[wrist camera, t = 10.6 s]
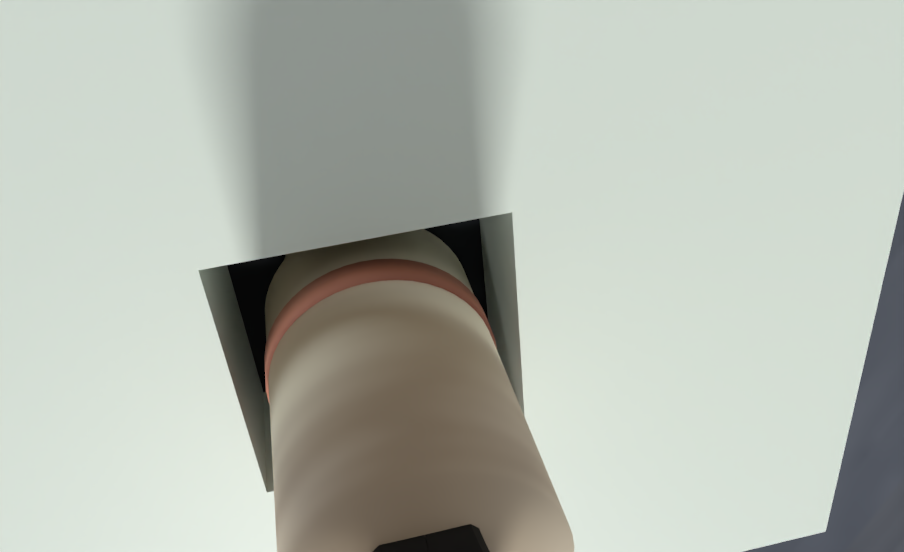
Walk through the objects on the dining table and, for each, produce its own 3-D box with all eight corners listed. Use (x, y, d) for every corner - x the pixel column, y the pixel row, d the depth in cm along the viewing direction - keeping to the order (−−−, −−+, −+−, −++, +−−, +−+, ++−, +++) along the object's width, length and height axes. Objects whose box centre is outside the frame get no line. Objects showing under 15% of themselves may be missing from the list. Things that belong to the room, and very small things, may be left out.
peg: (284, 363, 19) (310, 705, 12) (238, 202, 17) (240, 517, 10) (464, 324, 19) (581, 633, 13) (443, 162, 17) (572, 438, 11)
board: (10, 616, 21) (-20, 734, 19) (-410, -56, 12) (-572, 1, 10) (764, 446, 24) (825, 531, 21) (868, -223, 15) (995, -210, 12)
